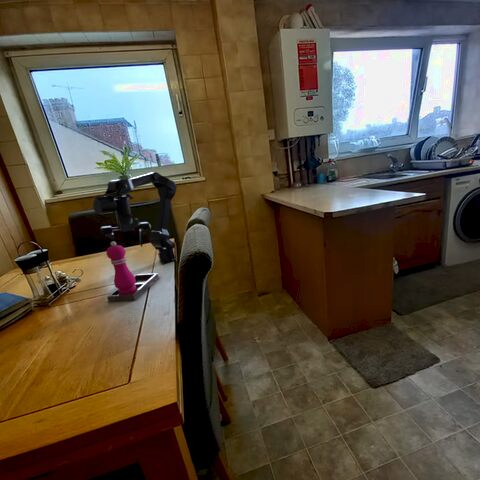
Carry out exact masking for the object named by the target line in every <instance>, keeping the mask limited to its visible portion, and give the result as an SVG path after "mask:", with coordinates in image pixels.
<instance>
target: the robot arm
mask: <svg viewBox="0 0 480 480" xmlns="http://www.w3.org/2000/svg"><path fill="white" fill-rule="evenodd" d="M148 184H152V186H153V187H155V188H156V189H157V195H158V196H159V203H158V204H159V205H158V212H157V219H156V227H155V228H154V230H152V226H151V223H150V222H148V221H142V222H141V221H140V222H139V219H138V217H133V216H132V210H131V206H130V200H134V197H133V196H132V195H130V194H129V193H130V192H132V191H133V190H134V189H135V188H138V187H142V186H145V185H148ZM176 193H177V184H176V182H175V181H174V180H171V179H170V178H169V177H166V176H164V175H162V174H161V173H159V172H157V171H152V172H148V173H145V174H142V175H138V176H134V177H131V178H120V179H111V180H109V181H108V183H107V188H106V189H105V192H104V194H103V195H95V196H93V199H94V200H93V203H92V208H93V211H94V213H95V214H97V215H106V214H112V213H115V217H116V222H117V226H114V227H112V225H105V226H101V227H100V233H101V236H105V237H106V238H107V237H108V238H109V239H110V240H111V242H113V241H114V242H116V245H118V243H117V240H116V237H115V234H114V233H116V232H123V233H125V232H133V231H135V230H138V233H139V245H140V247H141V248H142V247H143V245H144V244H143V243H144V239H145V235H146V233H147V232H149V230H151V231H150V237H149V240H150V244H151V246H152V247H153V248H154V249H155V250H156V251H158V252H157V255H158V260H159V262H161V263H162V264H167V263H171V262H174V261H177V258H176V257H175V252H174V249H175V248H176V243H175V242H173V241H172V240H171V237H170V233H169V231H168V227H169V218H170V213H171V212H170V211H171V210H170V209H171V204H172V200H173V199H174V197H175V196H176Z"/></svg>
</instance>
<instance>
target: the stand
mask: <svg viewBox="0 0 480 480" xmlns="http://www.w3.org/2000/svg"><path fill="white" fill-rule="evenodd" d="M133 275H134V277H135V279H136V282H135V284H134V285H136V287H137V290H136V291H135V292H134V293H133V294H125V295H119V292H118V290H119V289H118V288H116V289H115V290H113V291H112V292H110V293H109V294H108V295H107V296H106V298H107V302H109V303H114V302H130V301H136V300H137V299H138V298H139V297H140V296H142V295H143V294H144V293H145V292H146V291H147V290H148V289H149V288H150V287H151V286H152V285H153V284H154V283H155V282H156V281H157V280H158V279H160V277H159V274H158V272H155V273H140V274H133Z"/></svg>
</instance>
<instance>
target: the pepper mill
mask: <svg viewBox="0 0 480 480" xmlns="http://www.w3.org/2000/svg"><path fill="white" fill-rule="evenodd" d="M116 242H117V241H116ZM116 242H114V241H111V242H110V246H109V247H108V248H107V249H106V256H107V258H108V259H110V264H111V265H112V266H113V269H114V277H113V285H114V287H115V288H116V289H117V288H118V289H119V290H118V292H119V295H125V294H133V293H134V292H135V291H136V290H137V287H136V285H134V284H135V282H136V279H135V277H134V275H135V274H133V273H132V272H131V270H130V269H129V268H128V265H127V257H126V253H127V252H126V249H125V247H123V246H122V245H119V244H117V245H116Z"/></svg>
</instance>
